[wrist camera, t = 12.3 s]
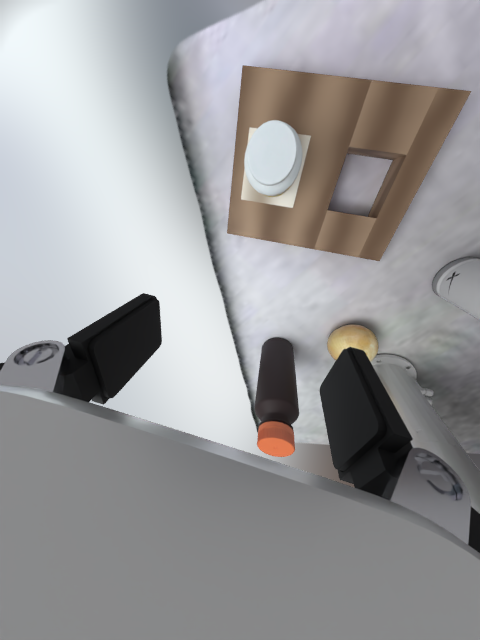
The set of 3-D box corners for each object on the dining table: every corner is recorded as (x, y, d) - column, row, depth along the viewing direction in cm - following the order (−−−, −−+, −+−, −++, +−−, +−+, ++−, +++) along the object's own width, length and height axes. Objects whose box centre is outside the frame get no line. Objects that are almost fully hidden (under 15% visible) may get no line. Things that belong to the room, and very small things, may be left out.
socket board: (447, 104, 20) (472, 90, 18) (370, 255, 29) (379, 261, 26) (247, 80, 22) (242, 64, 19) (231, 230, 31) (226, 233, 28)
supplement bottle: (295, 194, 24) (303, 191, 16) (253, 199, 25) (241, 198, 17) (298, 137, 21) (309, 99, 13) (251, 145, 22) (235, 114, 14)
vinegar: (296, 358, 42) (307, 461, 25) (267, 362, 44) (259, 460, 28) (288, 334, 39) (295, 432, 22) (257, 340, 41) (242, 434, 25)
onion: (355, 311, 34) (371, 333, 28) (378, 338, 36) (398, 365, 30) (316, 333, 38) (323, 357, 32) (339, 357, 40) (349, 384, 34)
